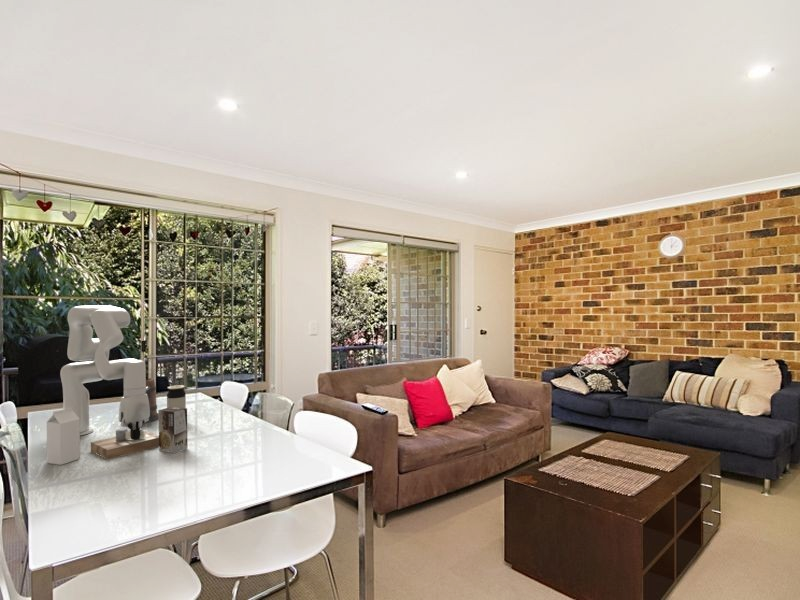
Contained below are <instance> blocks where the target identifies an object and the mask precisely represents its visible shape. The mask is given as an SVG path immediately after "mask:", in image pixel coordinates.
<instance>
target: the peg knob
mask: <svg viewBox="0 0 800 600" xmlns="http://www.w3.org/2000/svg"><path fill="white" fill-rule="evenodd" d="M115 437H116V441H117V442H120V441H125V440H128V439H131V437H130V429H129V428H119V429H116V430H115ZM145 437H146V429H140V439H144V438H145Z"/></svg>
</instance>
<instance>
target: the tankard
mask: <svg viewBox="0 0 800 600" xmlns="http://www.w3.org/2000/svg"><path fill="white" fill-rule="evenodd" d="M146 387H148V390H146V394H147V396H148V400H149V407H150V416H149V421H147V422H145V423H144V424H148V423H153V422H157V421H159V416H158V412H157V411H158V410H157V409H158V405H157V397H156V396H157V395H156V393H157V391H156V390H157V386H156V384H155V379H154V378H153V377H151V378H150V377H149V378H146Z"/></svg>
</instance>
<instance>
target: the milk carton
mask: <svg viewBox="0 0 800 600" xmlns="http://www.w3.org/2000/svg"><path fill="white" fill-rule="evenodd" d="M80 440H81V438H80V425H79V418H78V416H77V415H76V414H75V412H74V411H73V408H68V409H64V410H63V409H61V410H60V409H59V410H55V411H53V412H52V415H51V417H50V418H49V419H48V420H47V421H46V463H47V464H52V465H58V466H59V465H60V466H61V465H62V466H63V465H65V464H68V463H70V462H74V461H76V460H80V458H81V456H80V455H81V454H80V453H81V450H80V449H81V448H80V447H81V446H80V445H81V444H80V442H81V441H80Z"/></svg>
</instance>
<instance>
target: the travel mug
mask: <svg viewBox="0 0 800 600" xmlns="http://www.w3.org/2000/svg"><path fill="white" fill-rule="evenodd" d="M167 391H168V392H167V394H166V408H168V407H179V408H186V406H187V405H186V391H185V385H183V384H181V385H179V384H177V385H176V384H175V385H171V386H170V385H169V386H167Z"/></svg>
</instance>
